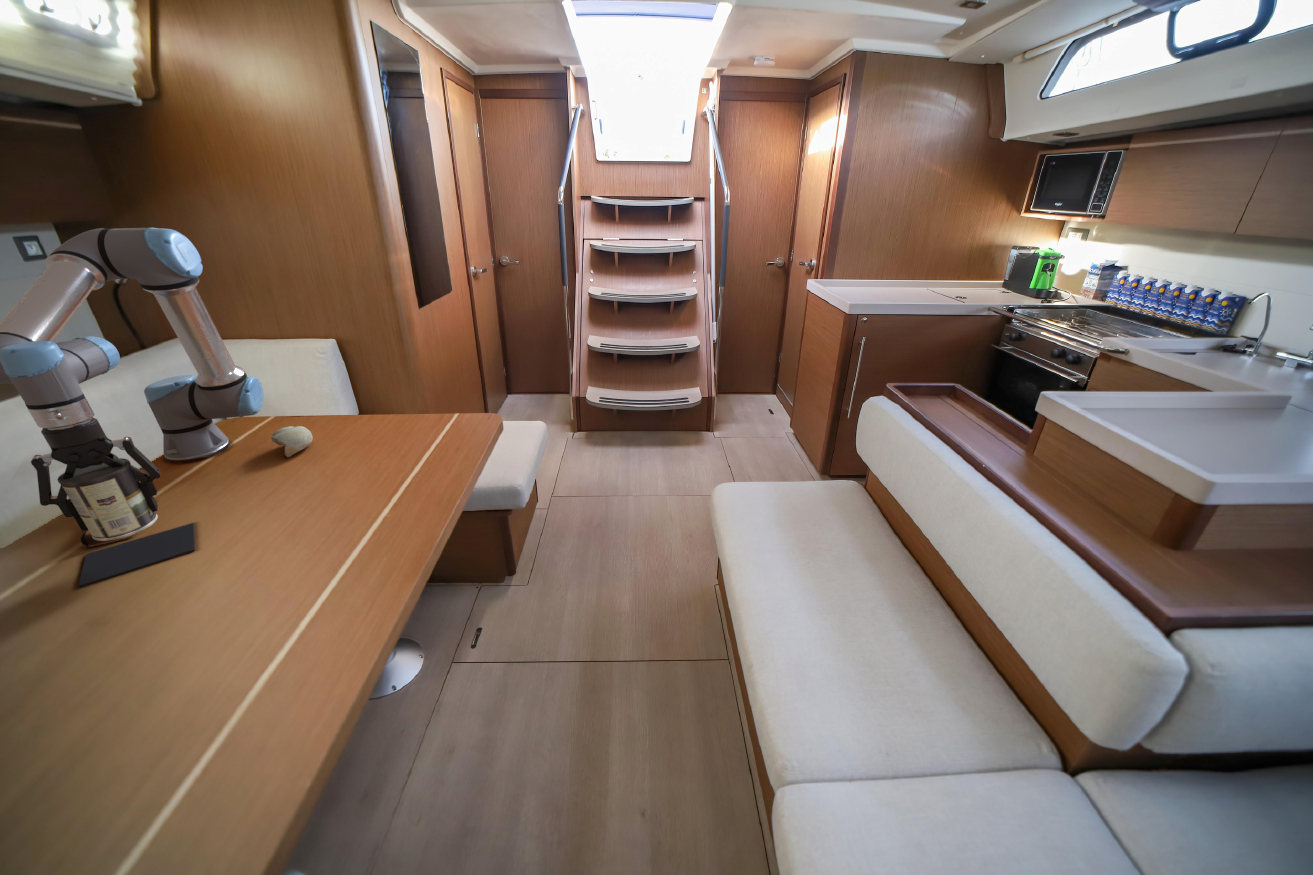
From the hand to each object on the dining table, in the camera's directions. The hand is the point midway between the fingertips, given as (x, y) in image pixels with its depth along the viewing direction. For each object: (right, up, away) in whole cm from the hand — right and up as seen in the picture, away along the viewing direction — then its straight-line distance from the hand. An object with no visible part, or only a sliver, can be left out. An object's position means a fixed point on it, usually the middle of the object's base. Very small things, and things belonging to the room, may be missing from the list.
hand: (121, 517), depth 106 cm
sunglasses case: (-15, -4, +14) cm, 21 cm away
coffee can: (0, -2, +1) cm, 2 cm away
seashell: (+2, +13, +49) cm, 51 cm away
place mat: (0, -9, +4) cm, 10 cm away
